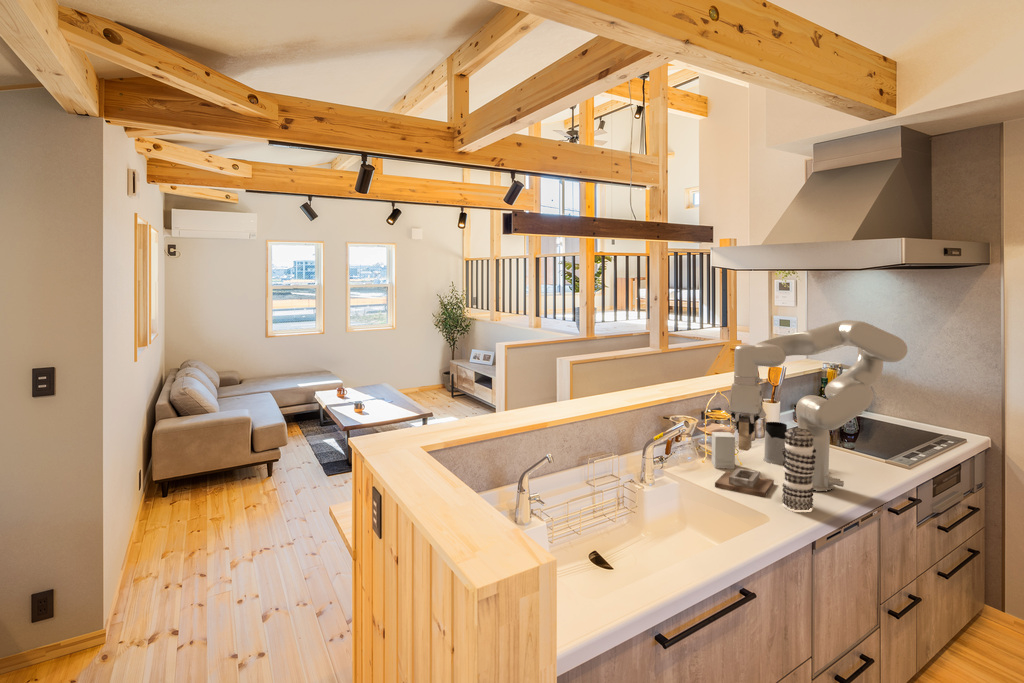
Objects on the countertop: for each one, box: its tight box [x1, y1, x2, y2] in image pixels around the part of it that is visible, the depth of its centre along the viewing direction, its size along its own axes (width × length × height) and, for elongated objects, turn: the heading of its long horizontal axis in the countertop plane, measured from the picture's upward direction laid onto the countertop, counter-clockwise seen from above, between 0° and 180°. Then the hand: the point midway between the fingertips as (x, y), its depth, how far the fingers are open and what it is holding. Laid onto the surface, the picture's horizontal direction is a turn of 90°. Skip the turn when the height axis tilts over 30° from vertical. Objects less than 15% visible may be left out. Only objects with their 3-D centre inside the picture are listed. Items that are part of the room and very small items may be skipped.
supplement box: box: [711, 431, 736, 470], centre depth 198 cm, size 7×7×13 cm
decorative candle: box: [781, 427, 816, 510], centre depth 158 cm, size 9×9×25 cm
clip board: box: [714, 467, 775, 498], centre depth 178 cm, size 16×14×4 cm
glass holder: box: [762, 421, 788, 465], centre depth 201 cm, size 9×14×15 cm, turn 70°
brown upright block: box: [738, 415, 753, 452], centre depth 176 cm, size 3×5×11 cm, turn 142°
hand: (745, 432), depth 176 cm, fingers closed on brown upright block, 3 cm apart
